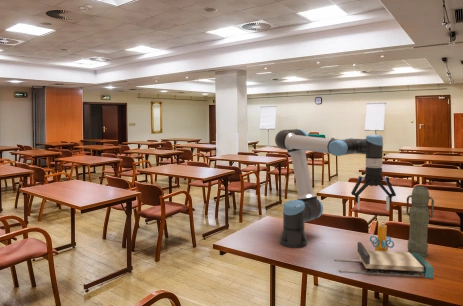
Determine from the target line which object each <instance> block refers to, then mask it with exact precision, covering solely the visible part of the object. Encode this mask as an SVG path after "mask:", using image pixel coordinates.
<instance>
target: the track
mask: <svg viewBox="0 0 463 306" xmlns="http://www.w3.org/2000/svg"><path fill="white" fill-rule="evenodd" d="M411 255H412V256H413V257H414V258H415V259H416V260H417V261H418V262H419V263H420V264H421V265H422V266H423V267H424V271H418V272H419V273H420V274H421V275H422V276H423V277H424V278H425V279H434V268H435V267H433V266H432V264H431V263H430V262H428V261H427V260H426V258H423V257H422V256H421V255H420V254H419V253H411ZM334 262H343V263H346V262H347V263H360V264H361V263H362V261H361V259H358V258H356V259H354V258H336V257H334ZM362 264H363V263H362ZM338 271H339V273H347V274H363V275H364V274H367V275H379V276H380V275H382V276H385V275H386V276H396V277H397V276H399V277H418V278H420V274H419V273H417V272H416V273H415V274H410V273H409V272H398V271H383V270H381V271H380V270H377V271H376V272H372V271H371V270H364V269H363V270H362V269H345V268H344V269H343V268H338Z"/></svg>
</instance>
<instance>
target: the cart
mask: <svg viewBox="0 0 463 306" xmlns="http://www.w3.org/2000/svg"><path fill="white" fill-rule="evenodd" d="M356 251H357V252H356V254H357V256H358V258H359V260H361V261H362V264H363V266H364V268H365V269H370V271H372V272H376V271H379V270H389V271H390V270H391V271H394V270H395V271H407V273H410V274H415V273H417V272H419V271H424V267H423V266H422V265H421V264H420V263H419V262H418V261H417V260H416V259H415V258H414V257H413V256H412V255H411V254H410V253H409V252H408V251H405V252H404V251H389V250H388V251H375V250H367V249H366V247H365V246H364V245H363V243H362V242H361V241H360V242H359V241H357V250H356Z"/></svg>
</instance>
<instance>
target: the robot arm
mask: <svg viewBox="0 0 463 306" xmlns="http://www.w3.org/2000/svg"><path fill="white" fill-rule="evenodd" d="M274 138H275V139H274V141H275V144H276V147H277V148H279V149H280V150H283V151H285V150H286V151H287V154H288V155H289V156H290V157H291V162H292V168H293V174H294V177H295V178H294V179H295V184H296V187H297V188H296V189H297V194H298V196H297V197H296V199H294V200H293V199H291V200H288V201H286V202H285V203H284V204H283V209H282V211H283V212H282V214H283V216H282V217H283V219H282V221H283V224H282V226H283V227H282V231H281V234H280V236H279V243H280V244H281V245H282V246H284V247H287V248H293V249H294V248H295V249H297V248H304V247H306V246H308V237H307V234H306V232H305V223H306V222H307V223H308V222H310V221H315V220H317V219H318V218H319V217H321V216H322V215H323V212H324V206H323V203H322V201H320V199H318V196H317V194H315V193H314V189H313V185H312V180H311V175H310V170H309V169H310V168H309V166H308V165H309V164H308V161H307V160H308V159H307V155H306V153H307V151H309V152H315V153H323V154H331V155H332V156H335V157H336V156H337V157H342V156H347V155H354V154H355V155H356V154H357V155H365V166H366V167H365V175H364V176H360V175H358V178H357V182H355V185H354V186H353V188H352V191H351V192H350V194H351V195H352V196H354V202H355V203H356V209H357V210H358V211H360V209H361V208H360V204H361V200H360V199H361V198H360V197H361V196H360V195H361V194H362V193H363V191H364V190H365V189H366V188H367V187H369V186H370V187H373V186H374V187H378V186H379V187H380V188H381V189H382V191H383V192H384V193H385V194H386V195H387V196H386V199H385V200H386V202H385V211H387V212H390V204H392V202H393V201H392V200H393V197H396V196H397V194H396V192H395V190H394V188H393V186H392V184H391V182H390V177H389V176H387V175H386V176H383V168H382V167H383V151H384V150H383V149H384V148H383V147H384V141H383V140H384V139H383V135H381V134H368V135H366V136H365V138H352V137H351V138H345V139H340V138H339V139H337V138H330V137H329V138H327V137H319V136H310V135H308V133H307V132H306V131H305V130H303V129H300V128H299V129H298V128H296V129H295V128H294V129H282V130H280V131H278V132H277V133H276V135H275V137H274ZM363 181H365V182H364V183H363V185H362V186H361V187H360V185H361V183H362V182H363ZM383 181H384V182H385V183H386V185H387V187H388V189H389V190H388V189H387V188H386V187H385V186H384V185H383V184H382V182H383Z"/></svg>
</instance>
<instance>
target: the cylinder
mask: <svg viewBox="0 0 463 306" xmlns="http://www.w3.org/2000/svg"><path fill="white" fill-rule="evenodd" d="M372 238H374V239H373V240H372ZM369 241H370V243H371V244H372V245H371V246H372V247H373V248H374V251H388V252H389V249H392V248H394V246H395V242H394V241H393V240H392V238H391V237H390V236H387V225H385V224H377V236H375V235H371V236H370V237H369ZM390 244H392V245H391V246H390Z"/></svg>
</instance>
